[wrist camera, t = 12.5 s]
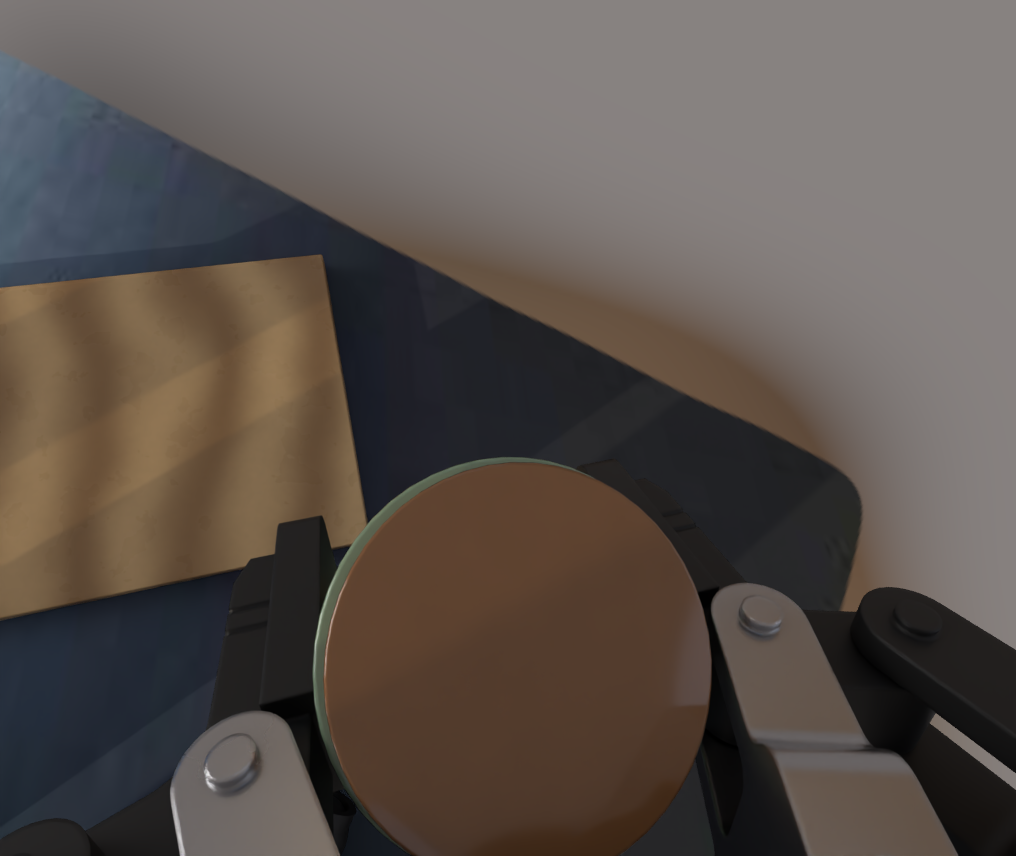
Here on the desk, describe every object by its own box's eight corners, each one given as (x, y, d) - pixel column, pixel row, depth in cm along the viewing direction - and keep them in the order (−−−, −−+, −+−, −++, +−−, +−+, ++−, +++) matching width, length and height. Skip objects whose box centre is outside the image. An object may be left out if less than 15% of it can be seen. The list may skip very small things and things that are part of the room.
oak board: (-206, 664, 24) (-236, 668, 23) (-185, 320, 27) (-212, 308, 26) (371, 541, 29) (369, 540, 28) (325, 265, 32) (321, 253, 31)
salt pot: (380, 739, 14) (339, 994, 5) (350, 542, 15) (275, 485, 6) (565, 686, 15) (784, 825, 6) (524, 507, 16) (664, 415, 7)
